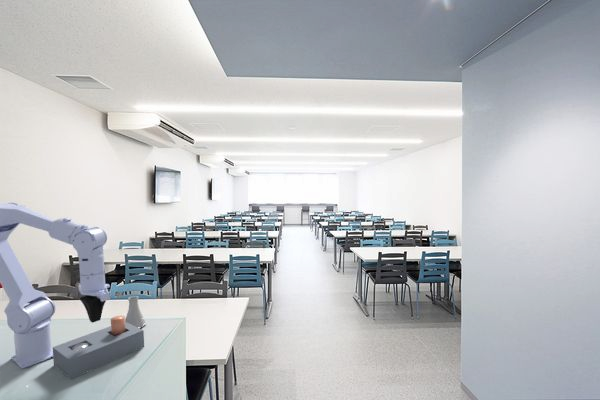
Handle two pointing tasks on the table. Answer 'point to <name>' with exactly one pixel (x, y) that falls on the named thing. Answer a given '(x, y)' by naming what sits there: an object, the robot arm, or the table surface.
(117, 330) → the terracotta plug
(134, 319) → the flask
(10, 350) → the table surface
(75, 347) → the steel plug
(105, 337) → the plug panel
